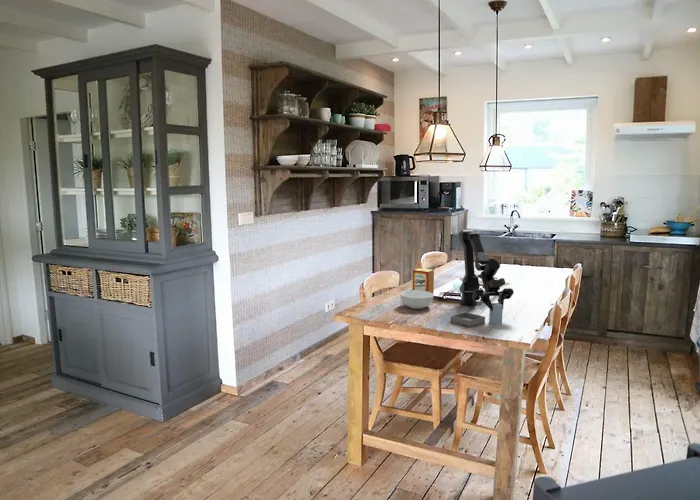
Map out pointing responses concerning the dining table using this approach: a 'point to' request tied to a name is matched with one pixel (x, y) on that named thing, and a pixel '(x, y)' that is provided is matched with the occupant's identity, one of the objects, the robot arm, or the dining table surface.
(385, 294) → the dining table surface
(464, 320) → the tray
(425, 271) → the baking soda box
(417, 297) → the cereal bowl
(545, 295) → the dining table surface
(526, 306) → the dining table surface
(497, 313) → the slate block
